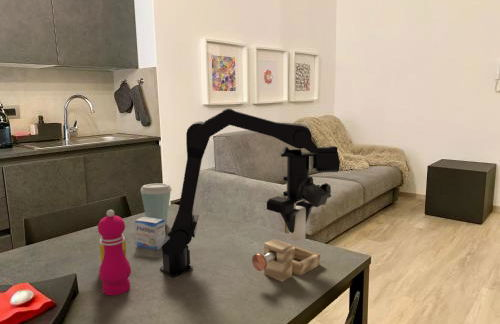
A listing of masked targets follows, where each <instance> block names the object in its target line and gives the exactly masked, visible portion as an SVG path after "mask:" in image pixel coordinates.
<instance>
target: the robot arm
mask: <svg viewBox="0 0 500 324" xmlns="http://www.w3.org/2000/svg"><path fill="white" fill-rule="evenodd" d="M228 126H232V127H236V128H240V129H243V130H246V131H250V132H251V131H252V132H254V133H258V134H262V135H265V136H270V137H272V138H275V139H276V140H279V141H280V142H283V143H284V144H287V145H289V146H291V147H293V149H291V148H289V147H288V146H284V148H283V149H282V150H281V151H280V152H279V155H280V156H281V158H286V175H283V181H285V182H286V190H285V191H283V196H274V197H271V198H269V199H267V201H266V210H267V211H271V212H275V213H279V214H280V215H281V218H282V220H283V221H284V223H285V225H286V227H287V230H288V232H289V231H290V232H291V233H293V232H294V228H295V216H296V214H297V213H298V212H299V211H300V210H298V209H296V206H302V207H305V208H306V223H307V222H308V218H309V217H310V214H311V211H312V209H313V208H319V207H320V206H323V205H326V203H327V200H328V199H330V198H331V197H332V195H331V193H332V191H331V190H332V189H331V188H332V187H331V185H330V184H329V183H327V182H326V183H323V184H321V185H320V184H315V183H314V178H313V176H310V168H311V170H313V169H314V172H315V173H317V174H320V173H339V171H340V168H341V167H340V166H341V160H340V157H339V152H338V147H337V146H335V145H330V146H317V144H316V143H315V142H314V141H313V139H312V132H311V130H310V129H309V127H306V126H304V124H303V125H302V124H300V123H292V122H277V121H273V120H269V119H266V118H262V117H258V116H255V115H250V114H247V113H243V112H241V111H236V110H234V109H232V108H225V109H223V110H222V111H221V112H219V113H217V114H216V115H213V116H212V117H210V118H208V119H207V120H205V121H200V120H199V121H194V122H193V123H192V124H191V125H190V126H189V127H188V128H187V130H186V134H185V135H186V138H185V140H186V164H185V171H184V176H183V182H182V188H181V193H180V194H181V195H180V199H179V205H178V210H177V212H176V215H175V218H174V222H173V223H172V227H171V230H170V231H169V232H168V233H167V234H165V240H164V242H163V245H162V247H161V250H162V251H161V252H162V254H161V255H162V256H161V257H162V266H160V268H159V270H161V272H164V273H165V274H167V275H169V276H171V277H176V276H179V275H181V274H184V273H186V272H189V271H191V270H193V269H194V267H193V266H192V265H191V251H190V249H189V244H190V243H191V241H192V239H193V238H195V237H196V233H197V229H198V226H197V225H198V221H199V217H200V215H199V214H195V211H194V210H195V209H194V207H195V200H196V195H197V190H198V183H199V178H200V174H201V173H200V172H201V167H202V162H203V161H202V160H203V157H204V155H205V152H206V149H207V146H208V143H209V141H210V138H211V137H212V136H214V135H216V134H217V133H220V132H221V131H222V130H223V129H225V128H227V127H228ZM301 149H304V150H306V151H307V152H303V151H302V150H301Z"/></svg>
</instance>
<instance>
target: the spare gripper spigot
mask: <svg viewBox="0 0 500 324" xmlns="http://www.w3.org/2000/svg"><path fill="white" fill-rule="evenodd" d="M296 209H298V210H300V211H299V212H298V213H297V214H296V216H295V228H294V232H293V233H291V232H290V231H289V230H288V238H289V239H290V240H293V241H303V240H305V239H306V225H307V222H306V208H305V207H302V206H296Z"/></svg>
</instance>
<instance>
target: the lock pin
mask: <svg viewBox="0 0 500 324" xmlns="http://www.w3.org/2000/svg"><path fill="white" fill-rule="evenodd" d="M275 259H277V252H275V251H272V252H270V253H268V254H266V255H264V254H262V253H256V254H254V255H253V256H252V258H251V263H252V266H253V267H254V269H255V270H256V271H258V272H262V271H263V270H264V269H265V268H266V266H267V263H268V262H270V261H273V260H275Z"/></svg>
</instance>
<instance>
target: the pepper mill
mask: <svg viewBox="0 0 500 324" xmlns="http://www.w3.org/2000/svg"><path fill="white" fill-rule="evenodd" d="M125 223H126V222H125V220H124V219H123V218H122V217H120V216H119V215H115V210H113V209H108V210H107V211H106V216H104V217H103V218H101V219H100V220H99V223H98V225H97V231H98V233H99V235H100V239H101V240H102V242H101V243H102V244H103V245H104V258H103V261H102V264H100V265H99V269H98V271H99V272H98V273H99V276H98V277H99V279H100V280H101V282H103V283H102V293H104V294H105V295H106V296H118V295H123V294H124V293H127V292H128V291H129V290H130V288H131V282H130V281H131V280H130V279H129V278H130V276H131V274H132V267H131V264H130V261H129V260H128V258H127V255H126V256H125V254H124V252H123V248H122V242H123V241H124V238H123V236H124V234H123V233H124V232H125V228H126V224H125ZM124 237H125V236H124Z"/></svg>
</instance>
